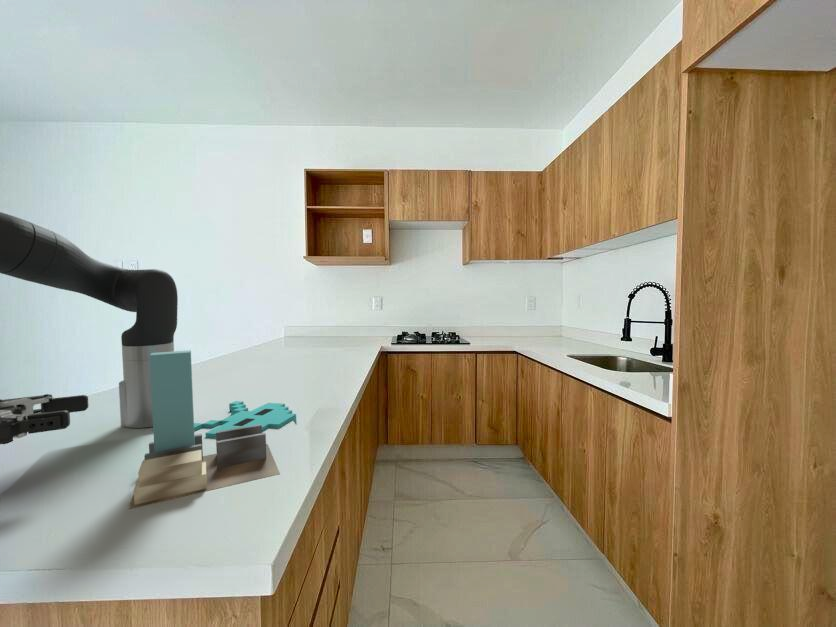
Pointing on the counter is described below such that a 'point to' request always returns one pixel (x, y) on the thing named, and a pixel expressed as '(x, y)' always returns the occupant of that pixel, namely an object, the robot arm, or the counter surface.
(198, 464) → the offcut upper
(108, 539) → the counter surface
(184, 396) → the block
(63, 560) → the counter surface
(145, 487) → the offcut lower
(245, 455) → the rack
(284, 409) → the alien figure
